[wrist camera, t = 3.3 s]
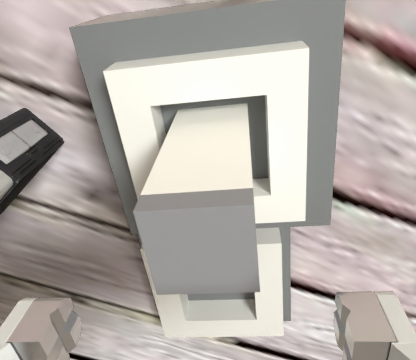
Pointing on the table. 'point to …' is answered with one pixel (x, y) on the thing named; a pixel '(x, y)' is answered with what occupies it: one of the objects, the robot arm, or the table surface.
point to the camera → (23, 152)
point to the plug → (201, 206)
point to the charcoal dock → (220, 35)
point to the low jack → (235, 298)
